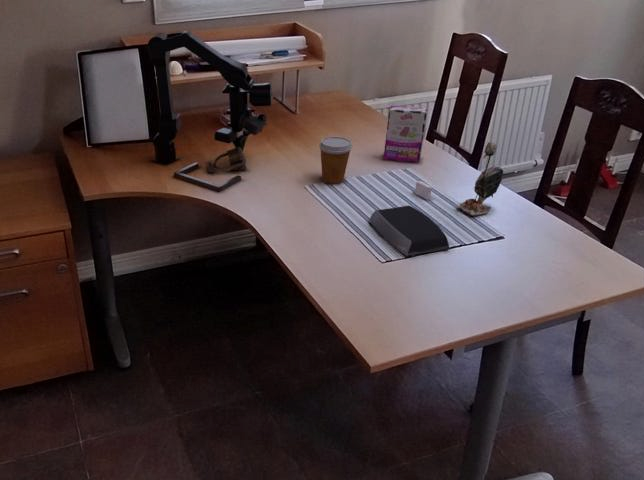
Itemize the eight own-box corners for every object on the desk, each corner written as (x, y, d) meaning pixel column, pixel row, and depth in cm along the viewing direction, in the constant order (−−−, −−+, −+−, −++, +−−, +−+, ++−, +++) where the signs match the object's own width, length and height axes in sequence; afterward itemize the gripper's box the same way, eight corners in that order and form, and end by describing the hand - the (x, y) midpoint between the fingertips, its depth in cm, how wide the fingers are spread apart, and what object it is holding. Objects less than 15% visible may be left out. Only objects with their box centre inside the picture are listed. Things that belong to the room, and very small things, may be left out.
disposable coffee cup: (354, 178, 190) (358, 140, 184) (337, 188, 185) (341, 150, 178) (327, 170, 196) (330, 133, 190) (310, 180, 190) (313, 142, 184)
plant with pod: (504, 212, 168) (523, 140, 158) (468, 218, 166) (484, 146, 155) (484, 199, 175) (501, 130, 164) (449, 206, 172) (463, 135, 162)
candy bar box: (420, 157, 202) (428, 107, 193) (419, 163, 198) (427, 112, 189) (384, 154, 206) (391, 104, 197) (382, 159, 202) (389, 109, 193)
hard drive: (402, 258, 150) (405, 243, 148) (366, 222, 166) (367, 208, 164) (452, 250, 153) (455, 235, 150) (411, 215, 169) (413, 201, 166)
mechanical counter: (245, 161, 191) (251, 142, 198) (204, 155, 193) (211, 137, 200) (244, 180, 196) (249, 161, 203) (204, 174, 198) (211, 156, 205)
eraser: (417, 192, 180) (419, 180, 178) (430, 198, 177) (432, 186, 175) (414, 193, 180) (416, 181, 178) (426, 199, 176) (428, 187, 174)
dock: (173, 177, 197) (173, 172, 196) (196, 166, 203) (195, 162, 202) (219, 192, 186) (219, 187, 185) (241, 180, 192) (241, 175, 192)
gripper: (241, 120, 184) (243, 169, 192) (277, 101, 195) (277, 148, 204) (211, 113, 190) (214, 161, 199) (248, 96, 202) (249, 142, 210)
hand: (240, 153), depth 203 cm, fingers closed
